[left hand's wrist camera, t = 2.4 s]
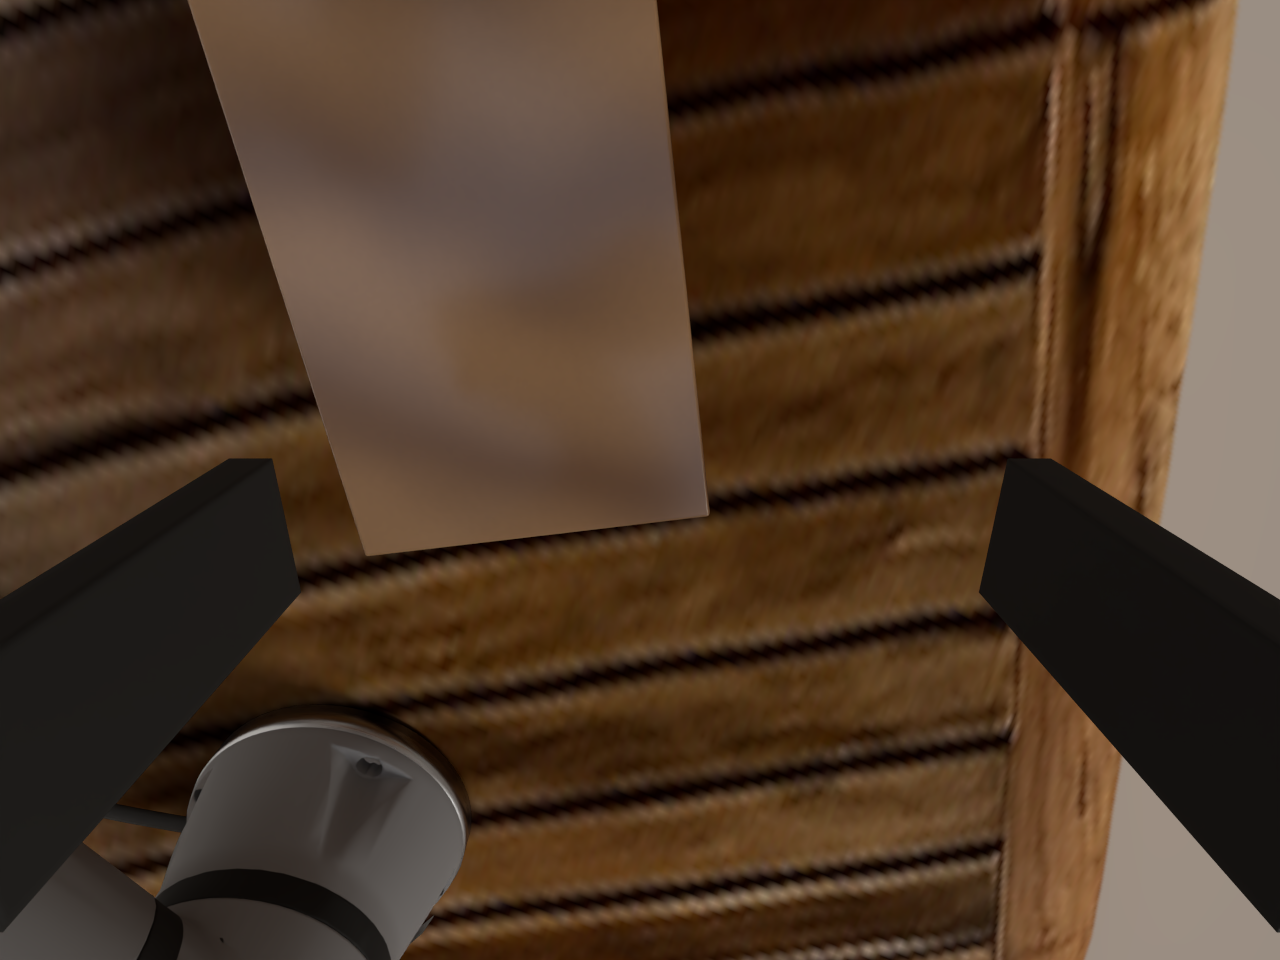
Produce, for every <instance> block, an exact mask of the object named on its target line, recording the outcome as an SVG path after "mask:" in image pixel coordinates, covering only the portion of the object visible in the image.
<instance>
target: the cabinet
mask: <svg viewBox="0 0 1280 960" xmlns="http://www.w3.org/2000/svg"><path fill="white" fill-rule="evenodd" d="M188 3H189V6H190V9H191V12H192V16H193V19H194V22H195V25H196V28H197V31H198V34H199V37H200V41H201V44H202V47H203V50H204V53H205V56H206V59H207V62H208V65H209V69H210V72H211V75H212V78H213V81H214V84H215V87H216V90H217V94H218V97H219V100H220V103H221V106H222V109H223V112H224V115H225V118H226V122H227V125H228V128H229V131H230V134H231V137H232V140H233V143H234V147H235V150H236V153H237V156H238V159H239V162H240V165H241V168H242V171H243V175H244V178H245V181H246V184H247V187H248V190H249V193H250V196H251V200H252V203H253V206H254V209H255V212H256V215H257V218H258V221H259V224H260V228H261V231H262V234H263V237H264V240H265V243H266V246H267V249H268V253H269V256H270V259H271V262H272V265H273V268H274V271H275V274H276V278H277V281H278V284H279V287H280V290H281V293H282V296H283V299H284V302H285V306H286V309H287V312H288V315H289V318H290V321H291V324H292V327H293V331H294V334H295V337H296V340H297V343H298V346H299V349H300V352H301V355H302V359H303V362H304V365H305V368H306V371H307V374H308V377H309V380H310V384H311V387H312V390H313V393H314V396H315V399H316V402H317V405H318V408H319V412H320V415H321V418H322V421H323V424H324V427H325V430H326V433H327V437H328V440H329V443H330V446H331V449H332V452H333V455H334V458H335V461H336V465H337V468H338V471H339V474H340V477H341V480H342V483H343V486H344V490H345V493H346V496H347V499H348V502H349V505H350V508H351V511H352V514H353V518H354V521H355V524H356V527H357V530H358V533H359V536H360V539H361V543H362V546H363V549H364V552H365V555H366V556H372V555H380V554H389V553H397V552H406V551H414V550H423V549H431V548H440V547H448V546H457V545H465V544H474V543H482V542H491V541H499V540H508V539H516V538H525V537H533V536H542V535H550V534H559V533H568V532H576V531H585V530H593V529H602V528H610V527H619V526H627V525H636V524H644V523H653V522H661V521H670V520H678V519H687V518H695V517H704V516H708V515H709V513H710V512H709V502H708V493H707V483H706V473H705V464H704V454H703V444H702V435H701V425H700V415H699V406H698V396H697V386H696V377H695V367H694V357H693V348H692V338H691V328H690V319H689V309H688V299H687V290H686V280H685V270H684V260H683V251H682V241H681V231H680V222H679V212H678V202H677V193H676V183H675V173H674V164H673V154H672V144H671V135H670V125H669V115H668V106H667V96H666V86H665V77H664V67H663V57H662V48H661V38H660V28H659V19H658V9H657V0H188Z"/></svg>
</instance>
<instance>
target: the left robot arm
mask: <svg viewBox="0 0 1280 960" xmlns="http://www.w3.org/2000/svg"><path fill="white" fill-rule="evenodd" d="M300 593H301V590H300V585H299V581H298V576H297V572H296V567H295V562H294V558H293V553H292V548H291V544H290V539H289V534H288V530H287V525H286V521H285V516H284V511H283V507H282V502H281V497H280V493H279V488H278V484H277V479H276V474H275V470H274V465H273V460H272V459H228V460H226V461H224V462H223V463H221V464H220V465H218V466H216V467H215V468H213V469H211V470H210V471H208V472H207V473H205V474H203V475H202V476H200V477H199V478H197V479H195V480H194V481H192V482H190V483H189V484H187V485H186V486H184V487H182V488H181V489H179V490H177V491H176V492H174V493H173V494H171V495H169V496H168V497H166V498H164V499H163V500H161V501H160V502H158V503H156V504H155V505H153V506H151V507H150V508H148V509H147V510H145V511H143V512H142V513H140V514H138V515H137V516H135V517H134V518H132V519H130V520H129V521H127V522H125V523H124V524H122V525H121V526H119V527H117V528H116V529H114V530H112V531H111V532H109V533H108V534H106V535H104V536H103V537H101V538H100V539H98V540H96V541H95V542H93V543H91V544H90V545H88V546H87V547H85V548H83V549H82V550H80V551H78V552H77V553H75V554H74V555H72V556H70V557H69V558H67V559H65V560H64V561H62V562H61V563H59V564H57V565H56V566H54V567H52V568H51V569H49V570H48V571H46V572H44V573H43V574H41V575H39V576H38V577H36V578H35V579H33V580H31V581H30V582H28V583H26V584H25V585H23V586H22V587H20V588H18V589H17V590H15V591H13V592H12V593H10V594H9V595H7V596H5V597H4V598H2V599H1V600H0V960H399V959H400V958H401V956H402V955H403V953H404V952H405V950H406V949H407V947H408V946H409V944H410V943H412V942H413V941H414V940H415V939H416V938H417V937H418V936H420V935H421V934H422V933H423V932H424V930H425V928H426V927H427V925H428V924H429V922H430V921H431V919H432V918H433V917H431V918H430V919H429V920H428V921H427V922H426V923H425V924H423V922H424V921H425V919H426V917H427V916H428V914H429V912H430V911H431V909H432V908H433V906H434V905H435V904H436V903H437V902H438V900H439V899H440V898H441V897H442V895H443V894H444V893H445V891H446V890H447V889H448V887H449V886H450V884H451V882H452V881H453V879H454V878H455V876H456V874H457V872H458V870H459V868H460V866H461V862H462V859H463V856H464V852H465V848H466V845H467V841H468V837H469V834H470V828H471V807H470V802H469V798H468V794H467V792H466V789H465V786H464V784H463V782H462V780H461V778H460V777H459V775H458V773H457V772H456V770H455V769H454V767H453V766H452V765H451V764H450V762H449V761H448V760H447V759H446V758H445V757H444V756H443V755H442V754H441V753H440V752H439V751H438V750H437V749H436V748H435V747H434V746H433V745H432V744H430V743H429V742H428V741H427V740H425V739H424V738H423V737H421V736H420V735H418V734H417V733H415V732H413V731H412V730H410V729H408V728H407V727H405V726H403V725H401V724H399V723H397V722H395V721H393V720H390V719H388V718H385V717H383V716H380V715H377V714H374V713H371V712H368V711H363V710H359V709H355V708H350V707H343V706H335V705H301V706H293V707H287V708H283V709H279V710H275V711H272V712H269V713H266V714H263V715H261V716H259V717H257V718H254V719H252V720H250V721H249V722H247V723H246V724H244V725H242V726H241V727H240V728H238V729H237V730H236V731H235V732H233V733H232V734H231V735H230V736H229V737H228V738H227V739H226V740H225V742H224V743H223V744H222V746H221V747H220V748H219V749H218V751H217V752H216V753H215V755H214V756H213V757H212V758H211V760H210V761H209V762H208V764H207V765H206V766H205V768H204V769H203V770H202V772H201V774H200V776H199V777H198V779H197V782H196V784H195V787H194V789H193V792H192V795H191V798H190V801H189V805H188V809H187V817H185V816H179V815H174V814H168V813H162V812H156V811H151V810H145V809H140V808H134V807H129V806H124V805H119V804H116V803H117V802H118V801H119V799H120V798H121V797H122V796H123V795H124V794H125V793H126V791H127V790H128V789H129V788H130V787H131V786H132V785H133V783H134V782H135V781H136V780H137V779H138V778H139V777H140V775H141V774H142V773H143V772H144V771H145V770H146V769H147V768H148V766H149V765H150V764H151V763H152V762H153V761H154V760H155V758H156V757H157V756H158V755H159V754H160V753H161V752H162V750H163V749H164V748H165V747H166V746H167V745H168V744H169V742H170V741H171V740H172V739H173V738H174V737H175V736H176V734H177V733H178V732H179V731H180V730H181V729H182V728H183V726H184V725H185V724H186V723H187V722H188V721H189V720H190V718H191V717H192V716H193V715H194V714H195V713H196V712H197V710H198V709H199V708H200V707H201V706H202V705H203V704H204V702H205V701H206V700H207V699H208V698H209V697H210V696H211V694H212V693H213V692H214V691H215V690H216V689H217V688H218V686H219V685H220V684H221V683H222V682H223V681H224V680H225V678H226V677H227V676H228V675H229V674H230V673H231V672H232V671H233V669H234V668H235V667H236V666H237V665H238V664H239V663H240V661H241V660H242V659H243V658H244V657H245V656H246V655H247V653H248V652H249V651H250V650H251V649H252V648H253V647H254V645H255V644H256V643H257V642H258V641H259V640H260V639H261V637H262V636H263V635H264V634H265V633H266V632H267V631H268V629H269V628H270V627H271V626H272V625H273V624H274V623H275V621H276V620H277V619H278V618H279V617H280V616H281V615H282V613H283V612H284V611H285V610H286V609H287V608H288V607H289V605H290V604H291V603H292V602H293V601H294V600H295V599H296V597H297V596H298V595H299V594H300ZM979 593H980V594H981V595H982V596H983V597H984V599H985V600H986V601H987V602H988V603H989V604H990V605H991V607H992V608H993V609H994V610H995V611H996V612H997V613H998V615H999V616H1000V617H1001V618H1002V619H1003V620H1004V621H1005V623H1006V624H1007V625H1008V626H1009V627H1010V628H1011V629H1012V631H1013V632H1014V633H1015V634H1016V635H1017V636H1018V637H1019V639H1020V640H1021V641H1022V642H1023V643H1024V644H1025V645H1026V647H1027V648H1028V649H1029V650H1030V651H1031V652H1032V653H1033V655H1034V656H1035V657H1036V658H1037V659H1038V660H1039V661H1040V663H1041V664H1042V665H1043V666H1044V667H1045V668H1046V669H1047V671H1048V672H1049V673H1050V674H1051V675H1052V676H1053V677H1054V678H1055V680H1056V681H1057V682H1058V683H1059V684H1060V685H1061V686H1062V688H1063V689H1064V690H1065V691H1066V692H1067V693H1068V694H1069V696H1070V697H1071V698H1072V699H1073V700H1074V701H1075V702H1076V704H1077V705H1078V706H1079V707H1080V708H1081V709H1082V710H1083V712H1084V713H1085V714H1086V715H1087V716H1088V717H1089V718H1090V720H1091V721H1092V722H1093V723H1094V724H1095V725H1096V726H1097V728H1098V729H1099V730H1100V731H1101V732H1102V733H1103V734H1104V736H1105V737H1106V738H1107V739H1108V740H1109V741H1110V742H1111V744H1112V745H1113V746H1114V747H1115V748H1116V749H1117V750H1118V752H1119V753H1120V754H1121V755H1122V756H1123V757H1124V758H1125V760H1126V761H1127V762H1128V763H1129V764H1130V765H1131V766H1132V768H1133V769H1134V770H1135V771H1136V772H1137V773H1138V774H1139V775H1140V777H1141V778H1142V779H1143V780H1144V781H1145V782H1146V783H1147V785H1148V786H1149V787H1150V788H1151V789H1152V790H1153V791H1154V793H1155V794H1156V795H1157V796H1158V797H1159V798H1160V799H1161V801H1162V802H1163V803H1164V804H1165V805H1166V806H1167V807H1168V809H1169V810H1170V811H1171V812H1172V813H1173V814H1174V815H1175V817H1176V818H1177V819H1178V820H1179V821H1180V822H1181V823H1182V825H1183V826H1184V827H1185V828H1186V829H1187V830H1188V831H1189V833H1190V834H1191V835H1192V836H1193V837H1194V838H1195V839H1196V841H1197V842H1198V843H1199V844H1200V845H1201V846H1202V847H1203V849H1204V850H1205V851H1206V852H1207V853H1208V854H1209V855H1210V857H1211V858H1212V859H1213V860H1214V861H1215V862H1216V863H1217V865H1218V866H1219V867H1220V868H1221V869H1222V870H1223V871H1224V872H1225V874H1226V875H1227V876H1228V877H1229V878H1230V879H1231V880H1232V882H1233V883H1234V884H1235V885H1236V886H1237V887H1238V888H1239V890H1240V891H1241V892H1242V893H1243V894H1244V895H1245V896H1246V898H1247V899H1248V900H1249V901H1250V902H1251V903H1252V904H1253V906H1254V907H1255V908H1256V909H1257V910H1258V911H1259V912H1260V914H1261V915H1262V916H1263V917H1264V918H1265V919H1266V920H1267V922H1268V923H1269V924H1270V925H1271V926H1272V927H1273V928H1274V930H1275V931H1276V932H1280V600H1279V599H1278V598H1276V597H1275V596H1273V595H1271V594H1270V593H1268V592H1267V591H1265V590H1263V589H1262V588H1260V587H1258V586H1257V585H1255V584H1253V583H1252V582H1250V581H1249V580H1247V579H1245V578H1244V577H1242V576H1240V575H1239V574H1237V573H1236V572H1234V571H1232V570H1231V569H1229V568H1228V567H1226V566H1224V565H1223V564H1221V563H1219V562H1218V561H1216V560H1215V559H1213V558H1211V557H1210V556H1208V555H1206V554H1205V553H1203V552H1202V551H1200V550H1198V549H1197V548H1195V547H1193V546H1192V545H1190V544H1189V543H1187V542H1185V541H1184V540H1182V539H1180V538H1179V537H1177V536H1176V535H1174V534H1172V533H1171V532H1169V531H1167V530H1166V529H1164V528H1163V527H1161V526H1159V525H1158V524H1156V523H1155V522H1153V521H1151V520H1150V519H1148V518H1146V517H1145V516H1143V515H1142V514H1140V513H1138V512H1137V511H1135V510H1133V509H1132V508H1130V507H1129V506H1127V505H1125V504H1124V503H1122V502H1120V501H1119V500H1117V499H1116V498H1114V497H1112V496H1111V495H1109V494H1107V493H1106V492H1104V491H1103V490H1101V489H1099V488H1098V487H1096V486H1094V485H1093V484H1091V483H1090V482H1088V481H1086V480H1085V479H1083V478H1081V477H1080V476H1078V475H1077V474H1075V473H1073V472H1072V471H1070V470H1068V469H1067V468H1065V467H1064V466H1062V465H1060V464H1059V463H1057V462H1056V461H1054V460H1052V459H1008V460H1007V465H1006V470H1005V474H1004V479H1003V484H1002V488H1001V493H1000V497H999V502H998V507H997V511H996V516H995V521H994V525H993V530H992V534H991V539H990V544H989V548H988V553H987V558H986V562H985V567H984V571H983V576H982V581H981V585H980V590H979ZM103 818H106V819H110V820H115V821H120V822H125V823H131V824H136V825H142V826H147V827H153V828H158V829H164V830H170V831H175V832H181V835H180V837H179V839H178V842H177V844H176V846H175V849H174V852H173V854H172V857H171V860H170V863H169V866H168V869H167V872H166V875H165V878H164V881H163V884H162V887H161V889H160V891H159V893H158V894H157V896H156V897H155V898H154V896H153V895H151V894H150V893H148V892H147V891H146V890H144V889H143V888H142V887H140V886H139V885H138V884H136V883H135V882H134V881H132V880H131V879H130V878H128V877H127V876H126V875H125V874H123V873H122V872H121V871H119V870H118V869H117V868H115V867H114V866H113V865H111V864H110V863H109V862H107V861H106V860H105V859H103V858H102V857H101V856H100V855H98V854H97V853H96V852H94V851H93V850H92V849H90V848H89V847H88V846H86V845H85V844H84V843H82V842H83V841H84V839H85V838H86V837H87V836H88V835H89V834H90V833H91V831H92V830H93V829H94V828H95V827H96V826H97V825H98V823H99V822H100V821H101V820H102V819H103ZM422 924H423V925H422ZM421 925H422V926H421Z"/></svg>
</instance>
